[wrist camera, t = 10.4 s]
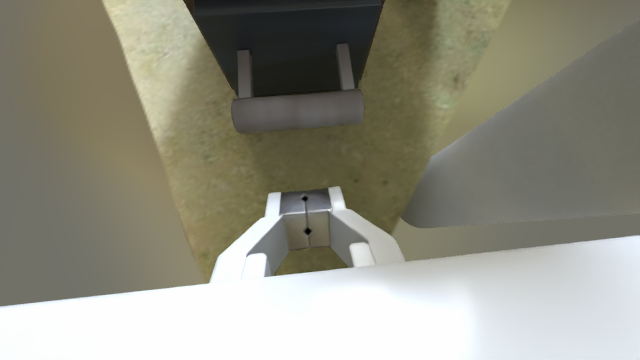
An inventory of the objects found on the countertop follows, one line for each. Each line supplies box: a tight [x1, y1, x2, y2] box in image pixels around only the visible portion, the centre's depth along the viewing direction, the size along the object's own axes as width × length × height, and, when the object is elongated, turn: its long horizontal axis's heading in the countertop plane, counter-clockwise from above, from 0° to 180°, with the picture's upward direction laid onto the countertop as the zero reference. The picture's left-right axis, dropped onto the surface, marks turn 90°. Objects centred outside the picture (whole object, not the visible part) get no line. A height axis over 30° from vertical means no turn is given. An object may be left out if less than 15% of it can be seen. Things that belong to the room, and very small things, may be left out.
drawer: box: [194, 0, 381, 134], centre depth 14 cm, size 15×8×6 cm, turn 6°
